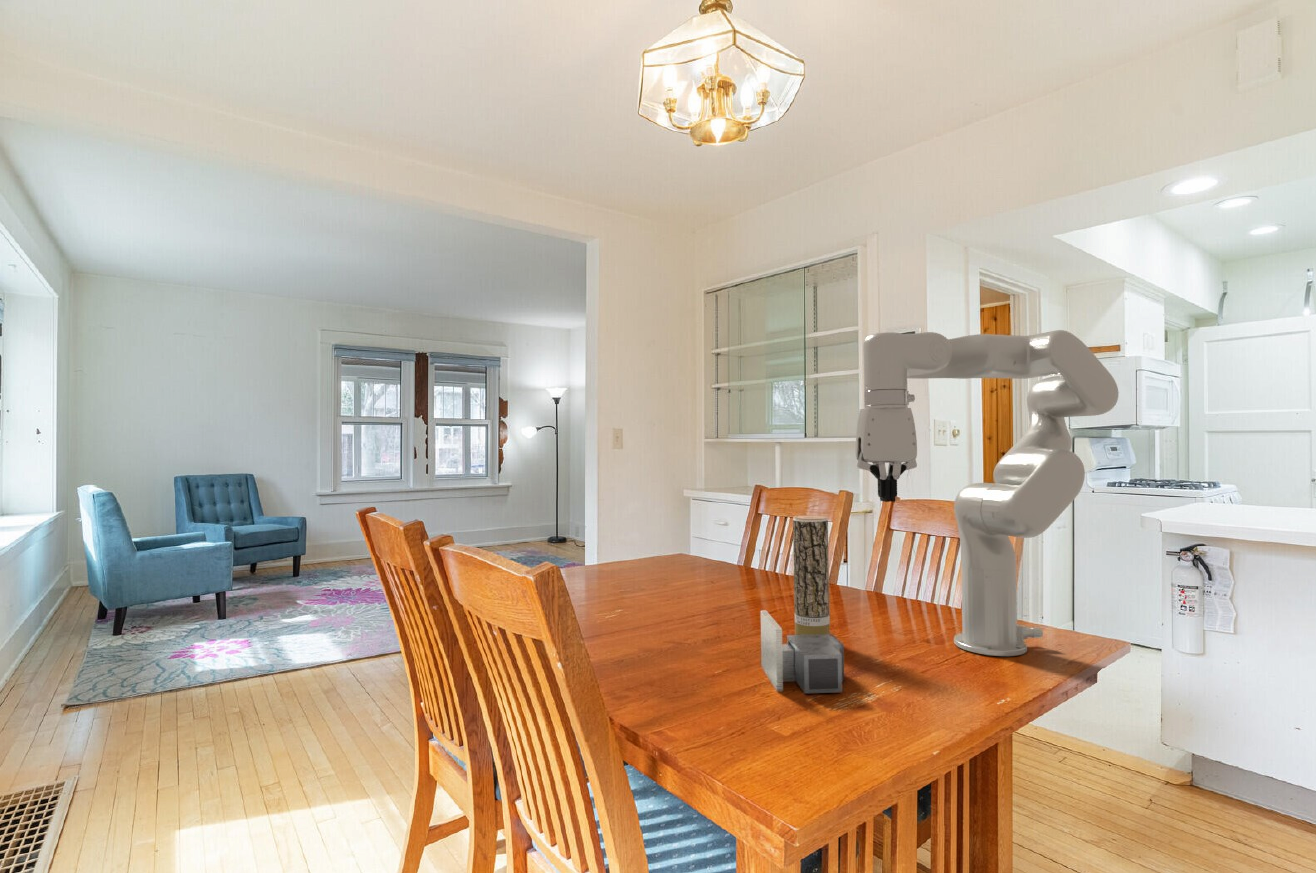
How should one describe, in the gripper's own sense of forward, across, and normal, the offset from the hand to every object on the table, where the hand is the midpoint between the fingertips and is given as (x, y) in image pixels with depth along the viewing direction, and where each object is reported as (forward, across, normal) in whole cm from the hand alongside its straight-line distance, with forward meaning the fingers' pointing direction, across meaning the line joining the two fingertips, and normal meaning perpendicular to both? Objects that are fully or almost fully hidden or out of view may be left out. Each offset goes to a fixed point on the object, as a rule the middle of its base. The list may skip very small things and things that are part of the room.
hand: (887, 500), depth 120 cm
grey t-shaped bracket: (+29, +18, +7) cm, 35 cm away
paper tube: (+29, +11, -12) cm, 34 cm away
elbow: (+29, +16, +10) cm, 34 cm away
